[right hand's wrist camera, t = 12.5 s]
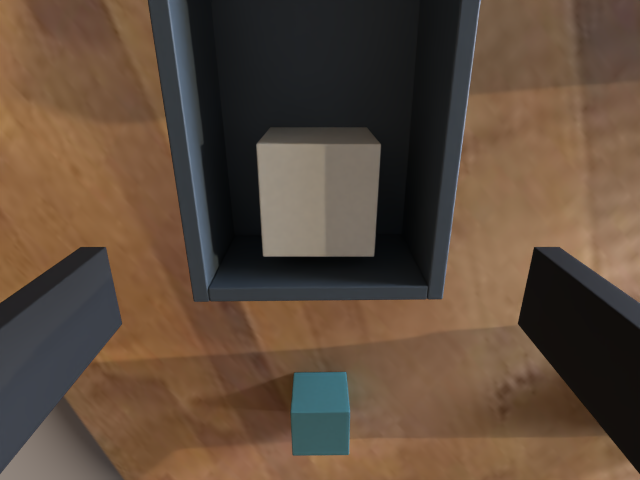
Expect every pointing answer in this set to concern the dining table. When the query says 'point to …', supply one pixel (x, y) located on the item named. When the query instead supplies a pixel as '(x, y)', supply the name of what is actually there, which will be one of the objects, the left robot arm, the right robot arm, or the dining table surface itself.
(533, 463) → the dining table surface
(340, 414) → the teal block
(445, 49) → the trough
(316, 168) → the cream block
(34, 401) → the right robot arm
